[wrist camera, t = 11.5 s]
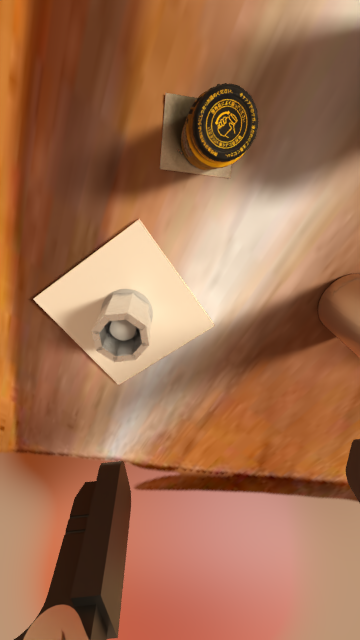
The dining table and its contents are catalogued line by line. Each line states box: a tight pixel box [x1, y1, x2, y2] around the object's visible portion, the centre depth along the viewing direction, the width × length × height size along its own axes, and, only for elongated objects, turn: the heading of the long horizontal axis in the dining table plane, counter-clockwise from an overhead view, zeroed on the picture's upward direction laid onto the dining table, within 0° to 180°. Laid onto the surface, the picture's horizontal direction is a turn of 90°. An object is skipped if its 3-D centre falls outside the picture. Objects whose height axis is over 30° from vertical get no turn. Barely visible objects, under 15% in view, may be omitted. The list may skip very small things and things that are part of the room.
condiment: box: [160, 83, 258, 178], centre depth 28 cm, size 7×8×12 cm
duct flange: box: [33, 219, 215, 385], centre depth 40 cm, size 18×18×6 cm
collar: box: [92, 292, 151, 362], centre depth 38 cm, size 6×6×7 cm
